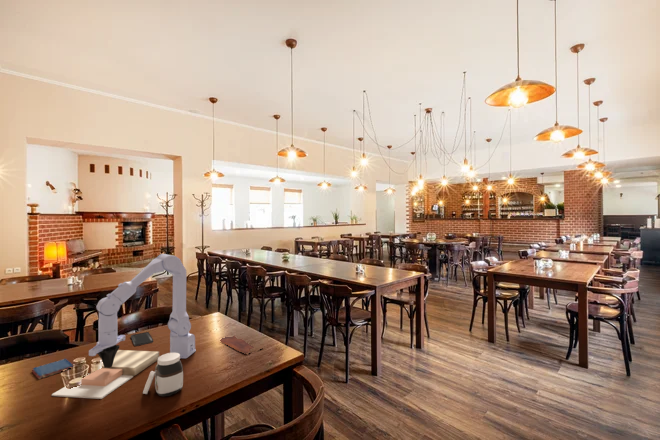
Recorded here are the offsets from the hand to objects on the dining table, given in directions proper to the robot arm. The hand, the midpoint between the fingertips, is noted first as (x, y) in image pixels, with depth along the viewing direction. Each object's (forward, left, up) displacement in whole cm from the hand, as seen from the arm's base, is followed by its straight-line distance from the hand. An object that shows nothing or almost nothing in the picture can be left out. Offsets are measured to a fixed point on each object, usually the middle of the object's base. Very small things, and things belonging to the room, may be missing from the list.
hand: (108, 367), depth 115 cm
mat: (0, +6, -4) cm, 7 cm away
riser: (0, -9, -4) cm, 10 cm away
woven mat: (+26, -3, -5) cm, 27 cm away
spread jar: (-26, +7, -4) cm, 27 cm away
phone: (+13, -35, -4) cm, 38 cm away
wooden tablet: (-36, -34, -5) cm, 50 cm away
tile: (0, +3, -3) cm, 4 cm away
